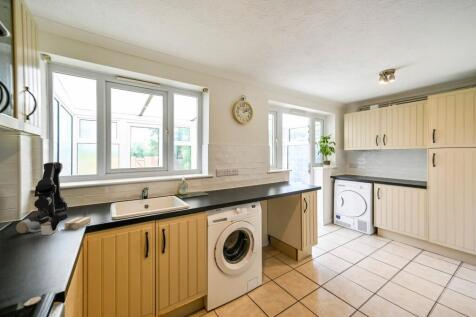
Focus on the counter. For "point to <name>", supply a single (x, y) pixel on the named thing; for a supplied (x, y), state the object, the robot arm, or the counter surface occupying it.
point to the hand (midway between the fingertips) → (49, 230)
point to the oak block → (77, 223)
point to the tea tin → (47, 228)
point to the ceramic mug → (28, 226)
